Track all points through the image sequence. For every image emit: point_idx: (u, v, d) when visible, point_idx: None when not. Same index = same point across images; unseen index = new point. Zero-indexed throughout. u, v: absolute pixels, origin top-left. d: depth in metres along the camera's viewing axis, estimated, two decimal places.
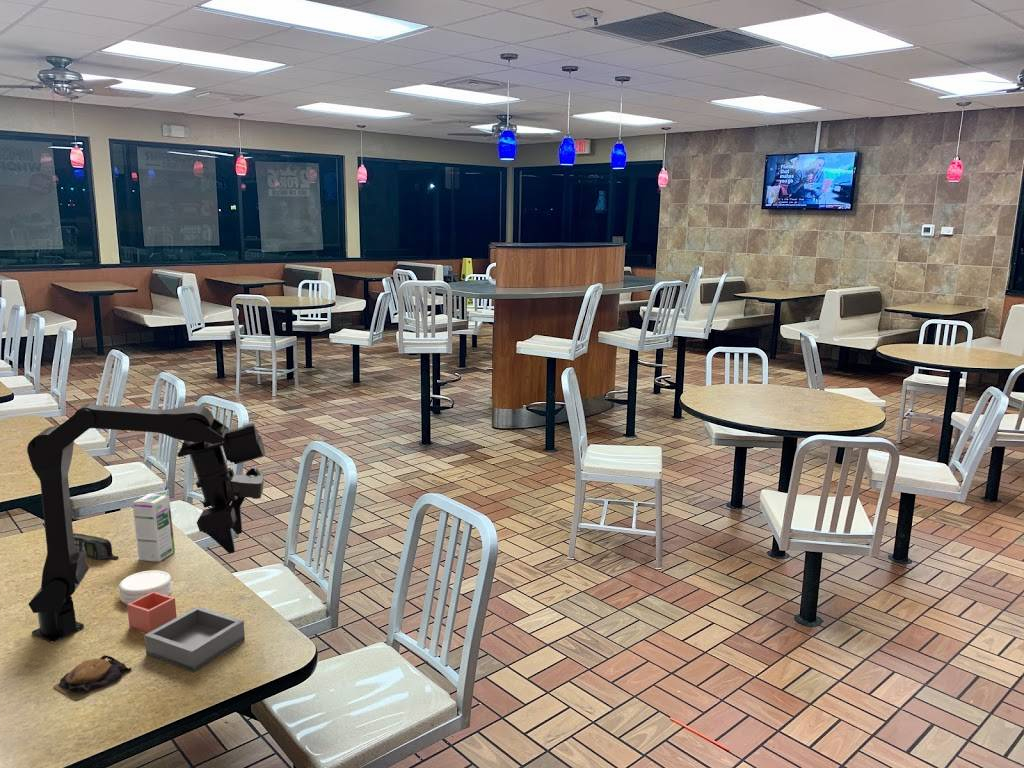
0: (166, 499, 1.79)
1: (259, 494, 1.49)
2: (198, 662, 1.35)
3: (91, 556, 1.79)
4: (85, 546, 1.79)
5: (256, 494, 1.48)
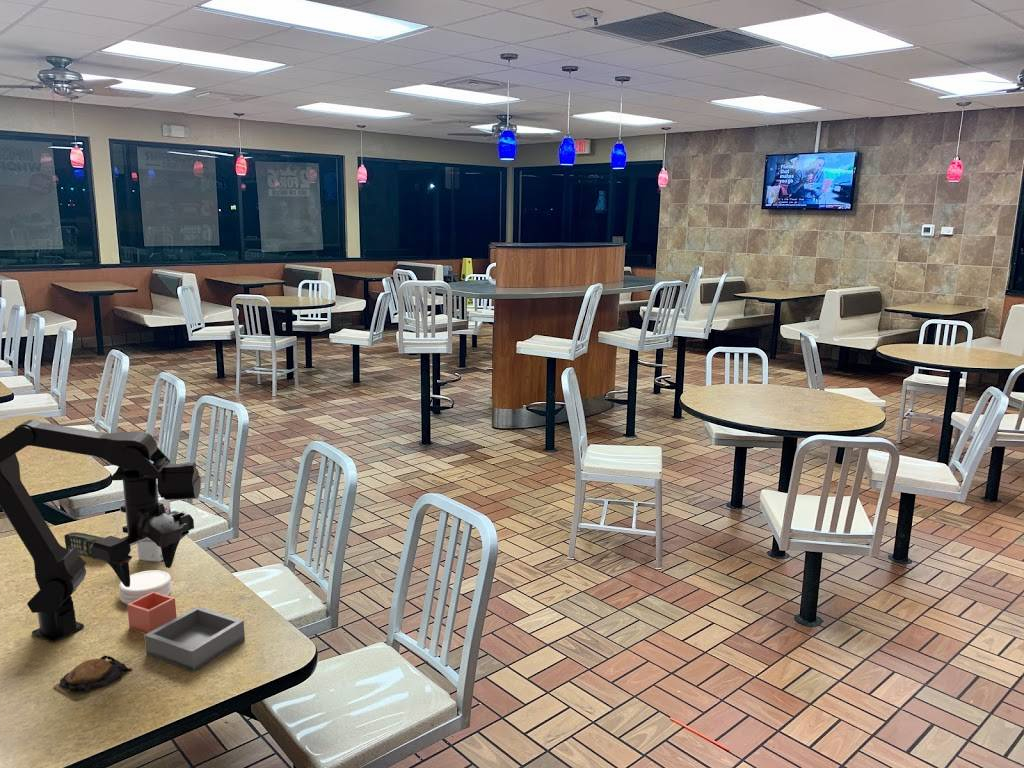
0: None
1: (163, 543, 1.41)
2: (198, 662, 1.35)
3: None
4: (86, 545, 1.79)
5: (159, 542, 1.41)
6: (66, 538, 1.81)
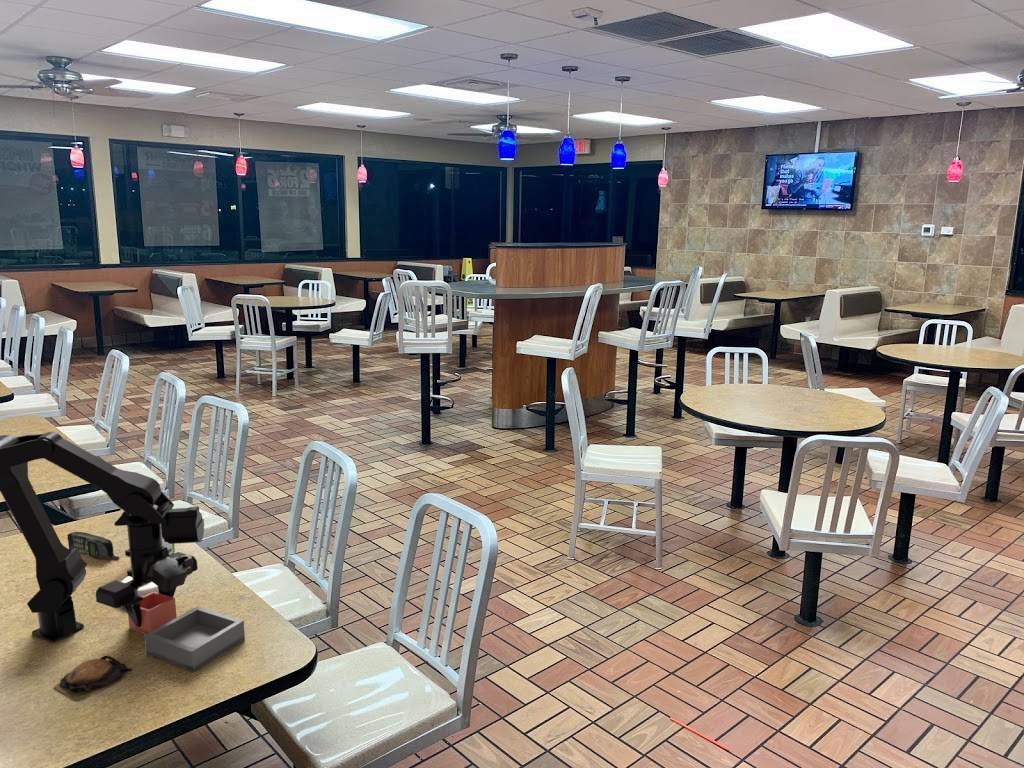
0: None
1: (167, 588, 1.43)
2: (198, 662, 1.35)
3: (93, 555, 1.79)
4: (88, 545, 1.79)
5: (164, 587, 1.43)
6: (69, 537, 1.82)
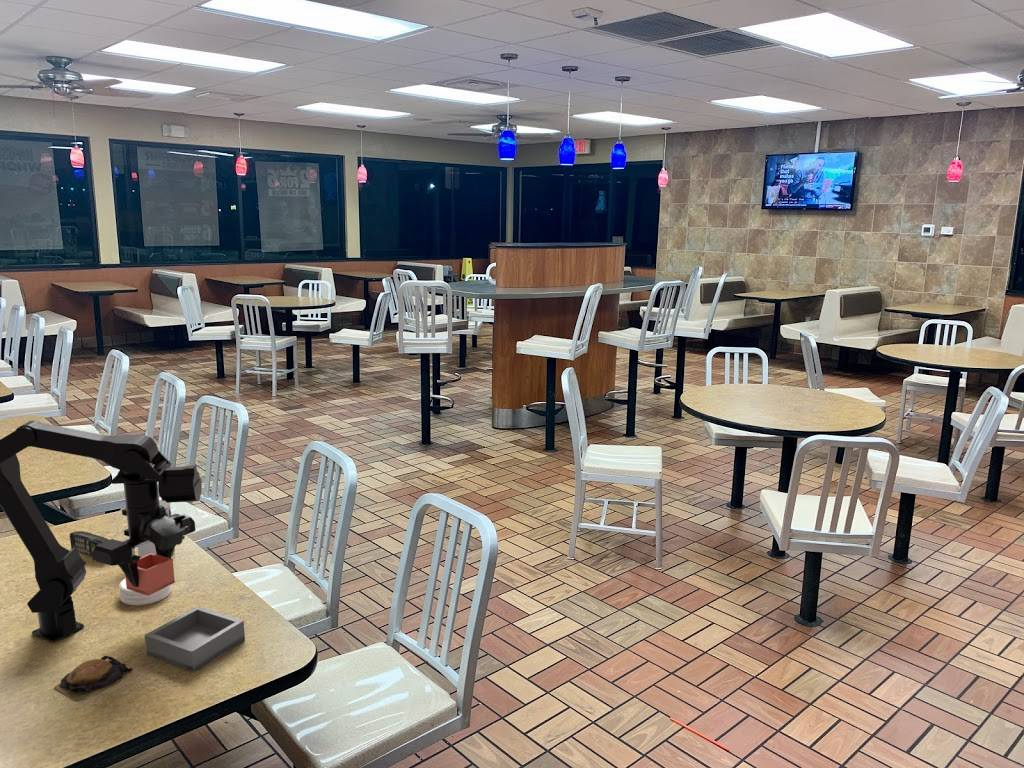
0: None
1: (164, 546, 1.41)
2: (198, 662, 1.35)
3: None
4: (89, 545, 1.79)
5: (161, 545, 1.41)
6: (71, 537, 1.82)
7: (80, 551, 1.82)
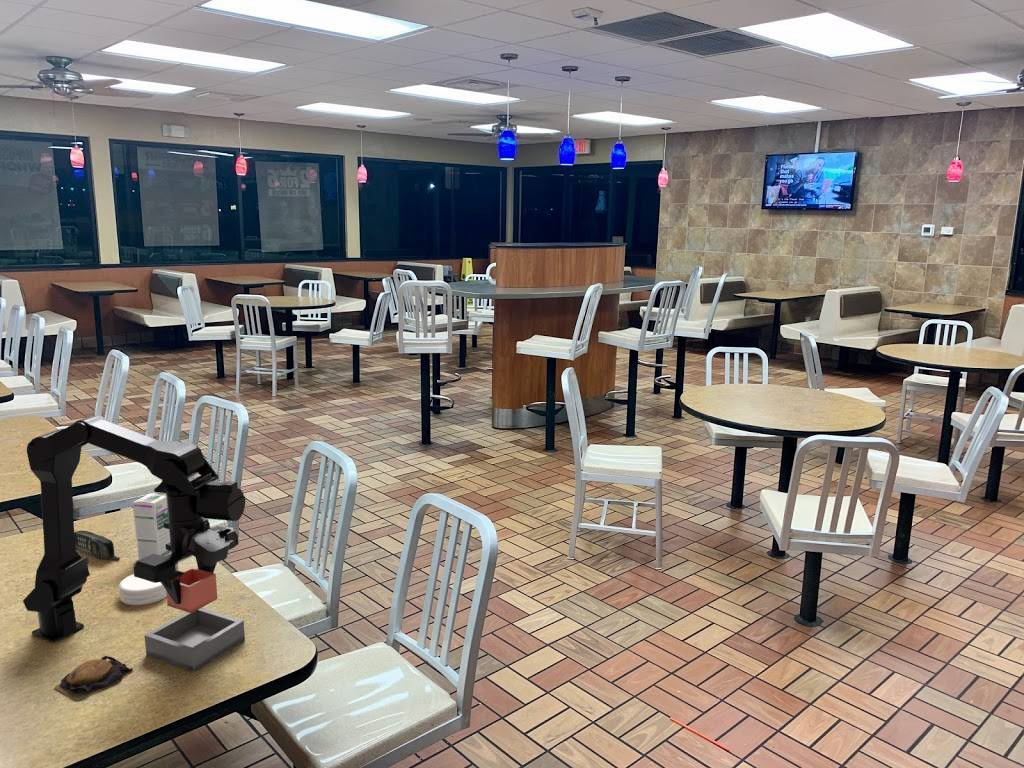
0: (166, 499, 1.79)
1: (209, 562, 1.33)
2: (198, 662, 1.35)
3: (95, 555, 1.79)
4: (90, 544, 1.79)
5: (206, 561, 1.33)
6: (74, 536, 1.83)
7: (82, 550, 1.82)
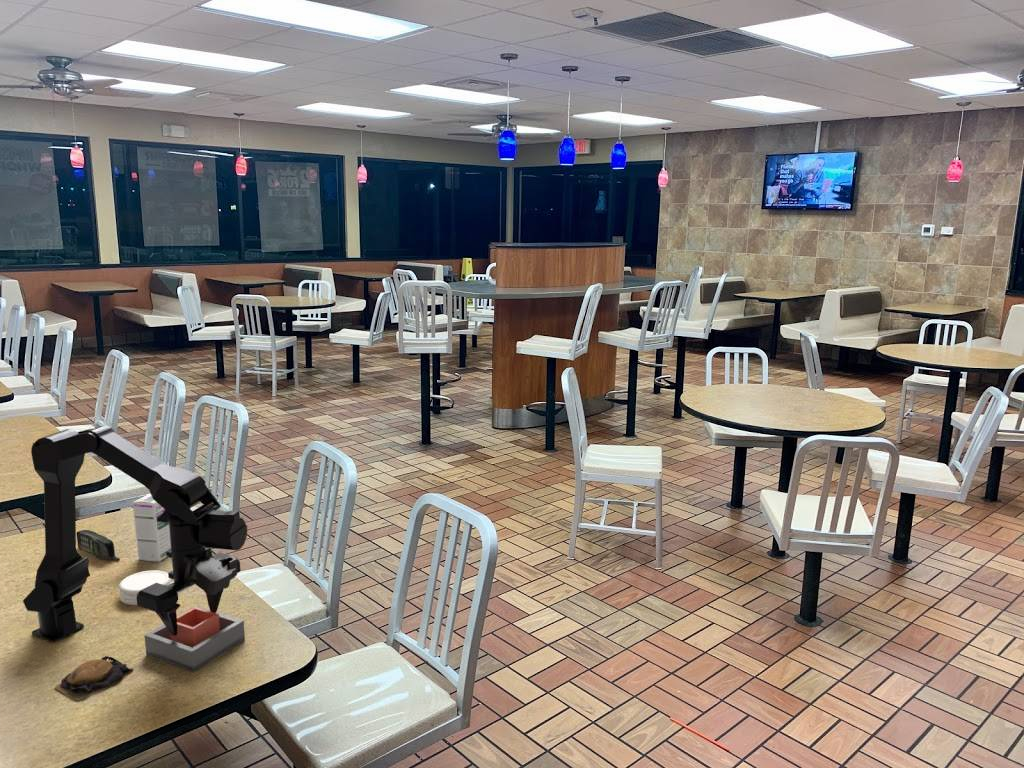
0: None
1: (212, 591, 1.34)
2: (198, 662, 1.35)
3: (96, 555, 1.79)
4: (92, 544, 1.80)
5: (208, 590, 1.34)
6: (77, 535, 1.83)
7: (85, 550, 1.82)
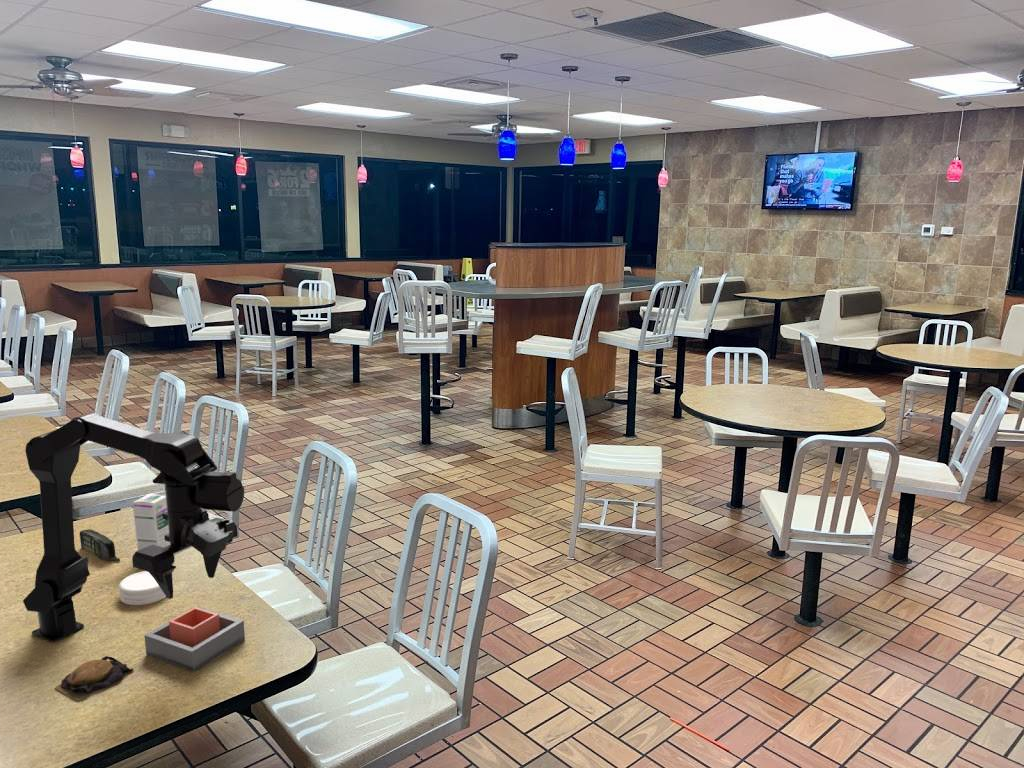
0: None
1: (208, 553, 1.33)
2: (198, 662, 1.35)
3: (97, 555, 1.79)
4: (94, 544, 1.80)
5: (205, 551, 1.33)
6: (80, 534, 1.83)
7: (87, 550, 1.83)
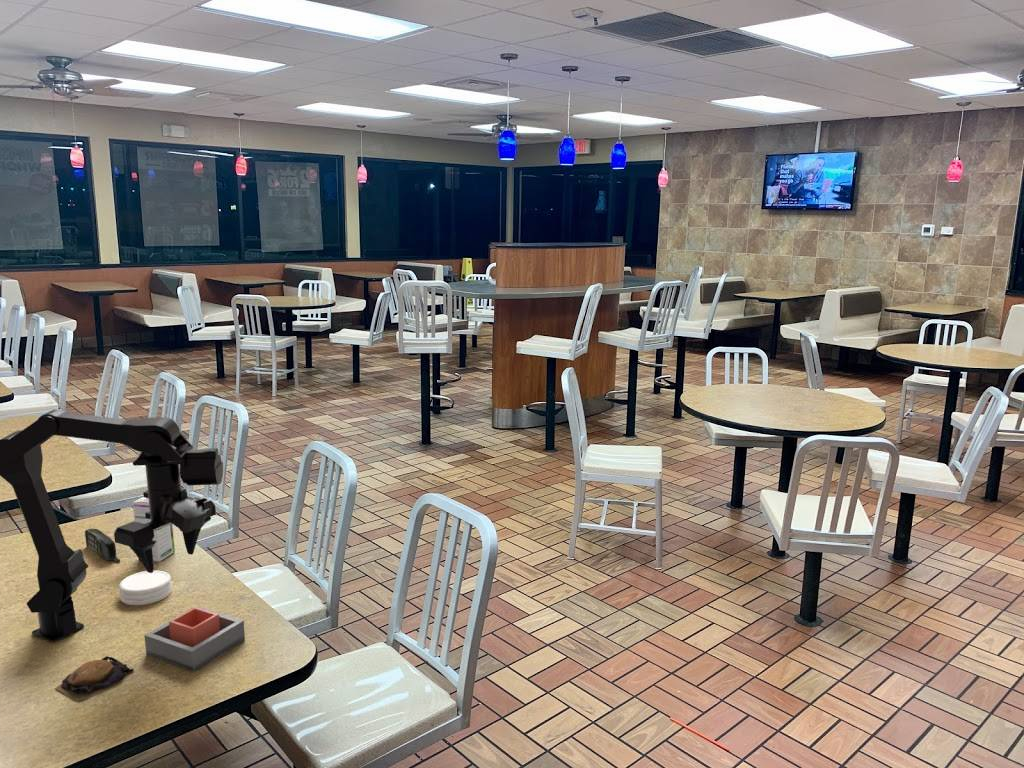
0: None
1: (186, 529, 1.41)
2: (198, 662, 1.35)
3: (99, 555, 1.79)
4: (96, 544, 1.80)
5: (183, 527, 1.40)
6: (85, 534, 1.84)
7: (91, 549, 1.83)
